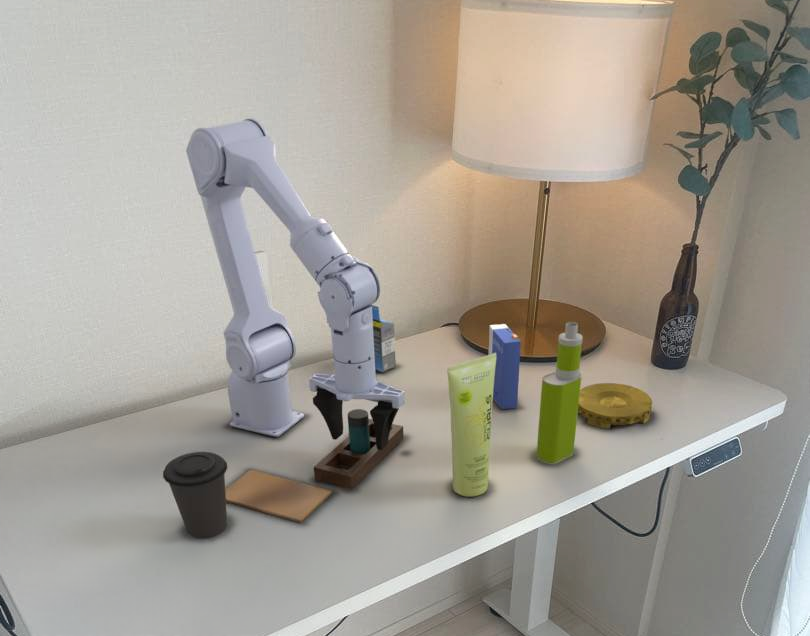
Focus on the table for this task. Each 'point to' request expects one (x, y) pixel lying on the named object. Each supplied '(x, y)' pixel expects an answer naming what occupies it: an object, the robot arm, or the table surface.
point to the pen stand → (354, 460)
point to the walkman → (505, 365)
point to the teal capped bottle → (359, 431)
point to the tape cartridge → (383, 342)
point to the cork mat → (276, 495)
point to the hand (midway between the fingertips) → (359, 441)
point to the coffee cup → (199, 492)
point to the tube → (471, 423)
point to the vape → (560, 400)
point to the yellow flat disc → (614, 404)
